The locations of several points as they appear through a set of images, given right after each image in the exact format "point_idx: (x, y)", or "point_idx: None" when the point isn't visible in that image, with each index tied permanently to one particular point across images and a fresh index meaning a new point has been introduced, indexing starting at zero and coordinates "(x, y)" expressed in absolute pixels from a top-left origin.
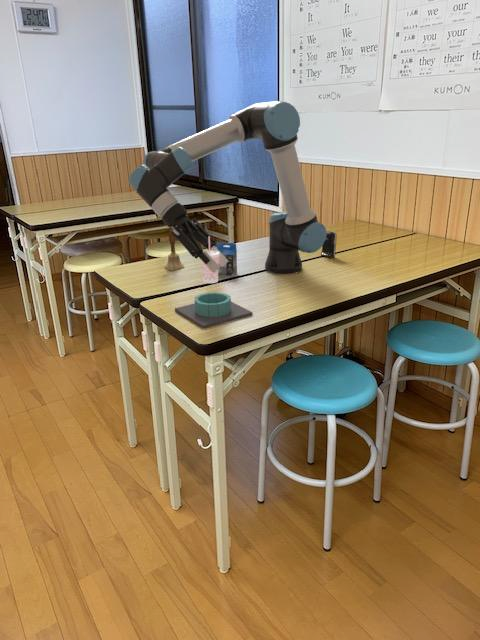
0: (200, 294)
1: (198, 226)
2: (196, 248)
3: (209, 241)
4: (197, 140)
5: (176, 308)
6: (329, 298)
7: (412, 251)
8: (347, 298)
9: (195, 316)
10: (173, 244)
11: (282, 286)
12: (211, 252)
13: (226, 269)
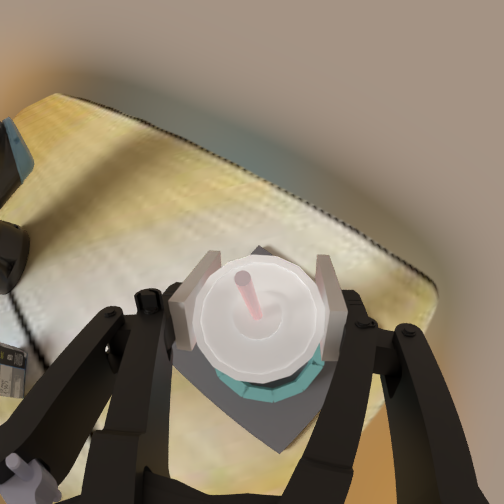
0: (240, 394)
1: (35, 434)
2: (412, 341)
3: (254, 288)
4: None
5: (280, 449)
6: (147, 149)
7: None
8: (148, 131)
9: (327, 376)
10: None
11: (80, 237)
12: (262, 300)
13: (16, 367)
